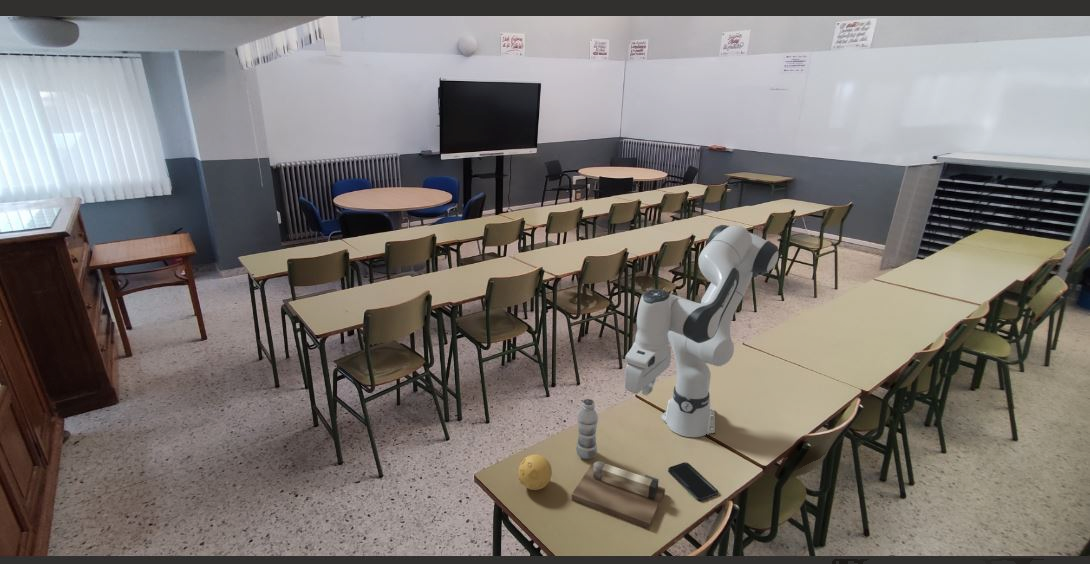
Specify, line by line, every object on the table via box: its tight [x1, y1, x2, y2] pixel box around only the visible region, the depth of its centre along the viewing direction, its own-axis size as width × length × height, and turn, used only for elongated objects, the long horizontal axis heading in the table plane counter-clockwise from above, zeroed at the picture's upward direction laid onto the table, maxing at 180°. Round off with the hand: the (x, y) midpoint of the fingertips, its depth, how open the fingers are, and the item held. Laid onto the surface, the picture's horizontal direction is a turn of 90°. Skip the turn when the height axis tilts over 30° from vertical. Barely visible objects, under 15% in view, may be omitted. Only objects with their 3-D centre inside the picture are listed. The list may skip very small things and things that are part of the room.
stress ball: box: [517, 453, 553, 491], centre depth 153 cm, size 10×10×10 cm
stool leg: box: [593, 461, 659, 500], centre depth 152 cm, size 19×3×4 cm, turn 62°
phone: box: [667, 462, 719, 502], centre depth 157 cm, size 8×1×15 cm
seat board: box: [570, 463, 666, 530], centre depth 150 cm, size 15×23×5 cm, turn 62°
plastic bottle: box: [575, 398, 599, 460], centre depth 165 cm, size 6×7×20 cm
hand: (647, 392), depth 146 cm, fingers closed
